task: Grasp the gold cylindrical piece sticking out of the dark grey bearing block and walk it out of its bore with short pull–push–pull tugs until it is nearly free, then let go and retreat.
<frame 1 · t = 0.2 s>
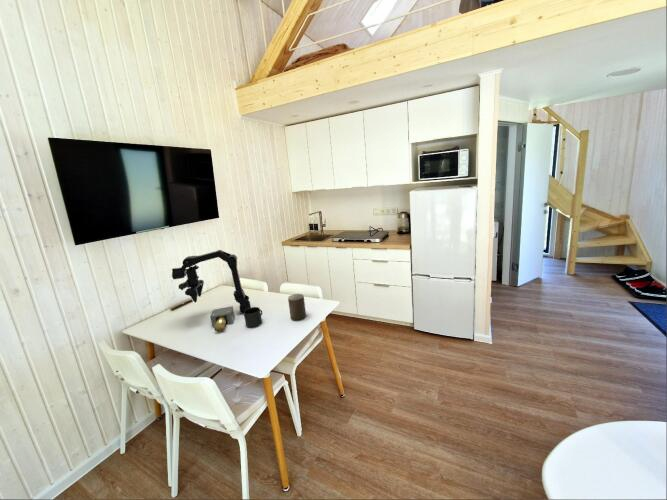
hand: (197, 299, 174), 14 cm above the table, fingers open, 9 cm apart
pillar candle: (298, 317, 168), on the table
mug: (255, 323, 166), on the table
gold cylindrical piece: (221, 322, 164), point 3 cm above the table, slide at 4.0 cm
bearing block: (224, 321, 171), on the table
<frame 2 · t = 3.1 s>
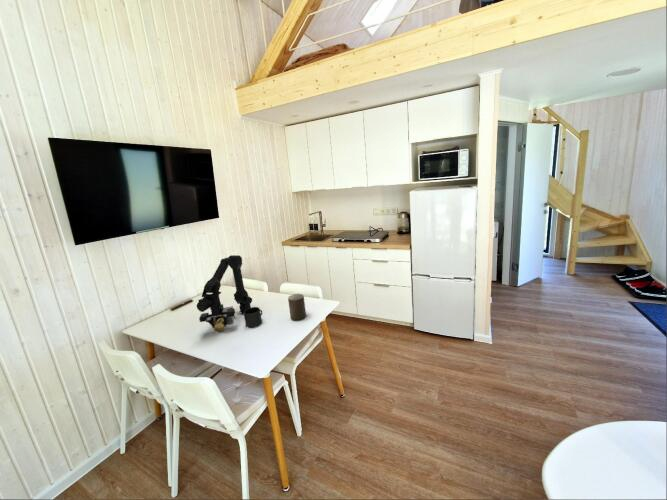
hand: (220, 327, 160), 2 cm above the table, fingers closed on gold cylindrical piece, 5 cm apart
gold cylindrical piece: (221, 322, 164), point 3 cm above the table, slide at 4.0 cm, touching gripper
everything else where it was.
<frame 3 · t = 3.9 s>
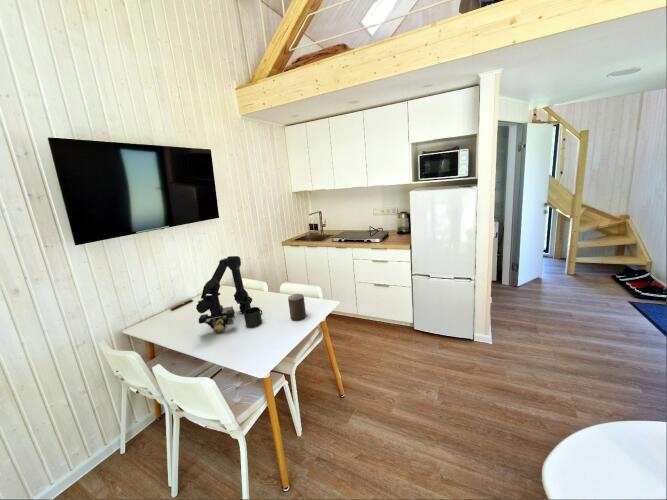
hand: (219, 329, 158), 2 cm above the table, fingers closed on gold cylindrical piece, 5 cm apart
gold cylindrical piece: (220, 323, 162), point 3 cm above the table, slide at 5.8 cm, touching gripper
everything else where it was.
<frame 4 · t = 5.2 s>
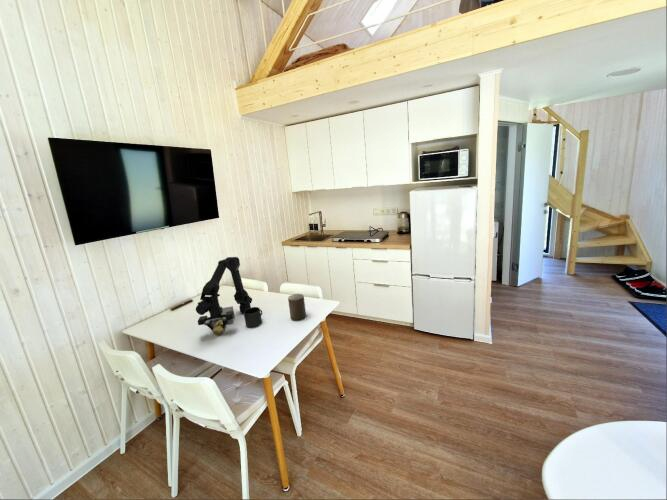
hand: (219, 331, 156), 2 cm above the table, fingers closed on gold cylindrical piece, 5 cm apart
gold cylindrical piece: (220, 325, 160), point 3 cm above the table, slide at 7.8 cm, touching gripper
everything else where it was.
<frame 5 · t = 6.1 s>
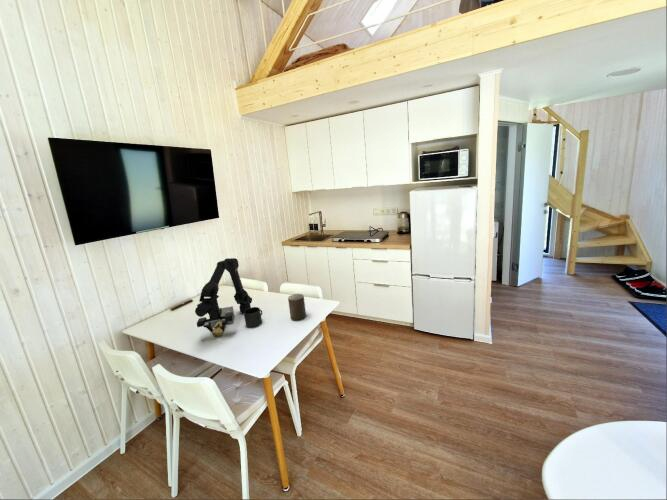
hand: (218, 333, 154), 2 cm above the table, fingers closed on gold cylindrical piece, 5 cm apart
gold cylindrical piece: (219, 326, 158), point 3 cm above the table, slide at 9.9 cm, touching gripper
everything else where it was.
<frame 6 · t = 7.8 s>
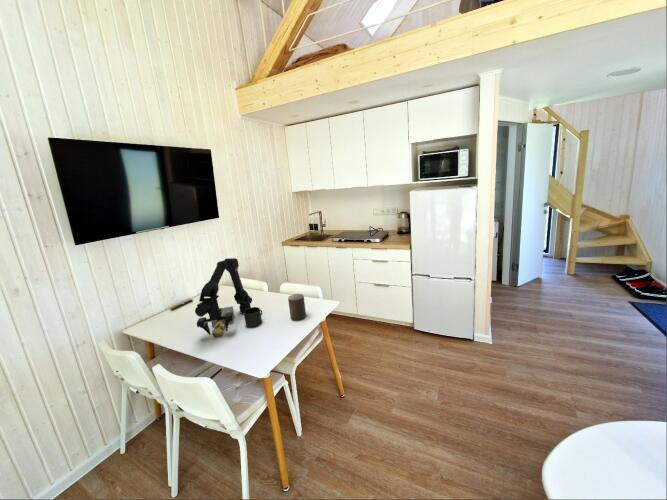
hand: (218, 332, 154), 2 cm above the table, fingers open, 9 cm apart
gold cylindrical piece: (219, 326, 158), point 3 cm above the table, slide at 9.9 cm
everything else where it was.
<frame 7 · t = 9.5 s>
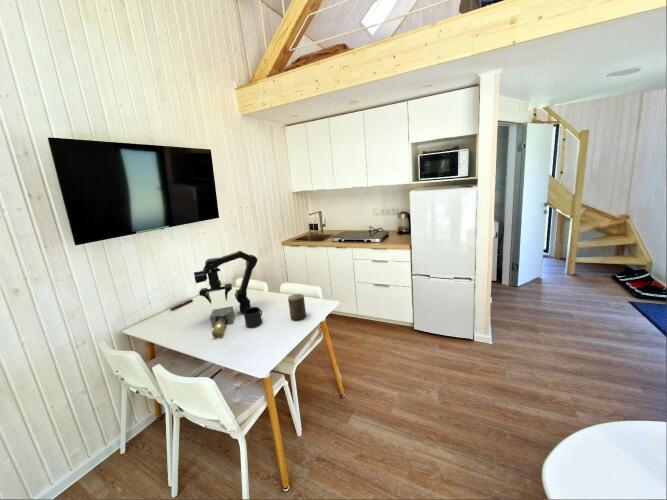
hand: (218, 301, 173), 12 cm above the table, fingers open, 9 cm apart
nothing on the table moved.
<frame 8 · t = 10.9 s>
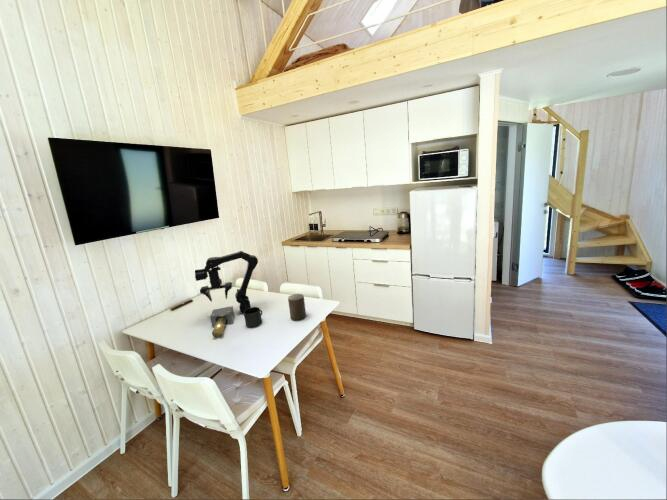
hand: (219, 300, 176), 12 cm above the table, fingers open, 9 cm apart
nothing on the table moved.
at the end: gold cylindrical piece slide at 9.9 cm; the gripper is holding nothing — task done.
